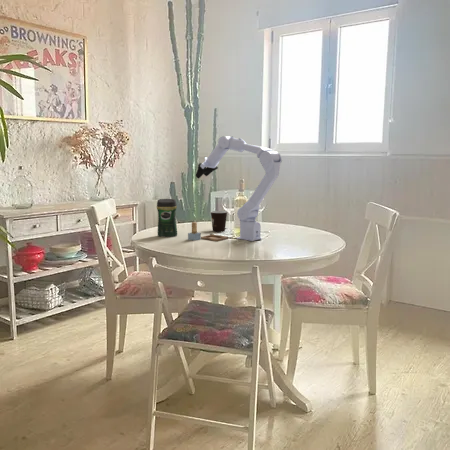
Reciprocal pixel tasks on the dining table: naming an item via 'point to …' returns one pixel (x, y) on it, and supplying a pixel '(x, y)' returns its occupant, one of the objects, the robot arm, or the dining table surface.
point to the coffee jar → (167, 218)
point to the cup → (194, 236)
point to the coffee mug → (218, 220)
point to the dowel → (194, 227)
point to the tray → (214, 238)
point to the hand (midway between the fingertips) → (201, 176)
